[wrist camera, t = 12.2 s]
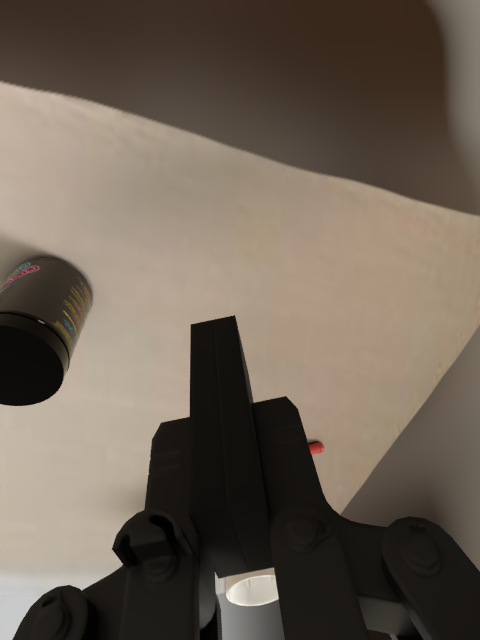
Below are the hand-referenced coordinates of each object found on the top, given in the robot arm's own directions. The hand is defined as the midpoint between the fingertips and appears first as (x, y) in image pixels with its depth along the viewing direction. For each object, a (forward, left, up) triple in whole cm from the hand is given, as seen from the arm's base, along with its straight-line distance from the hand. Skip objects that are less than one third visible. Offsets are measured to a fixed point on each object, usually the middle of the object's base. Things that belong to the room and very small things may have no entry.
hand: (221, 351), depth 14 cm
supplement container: (+14, +6, -21) cm, 26 cm away
